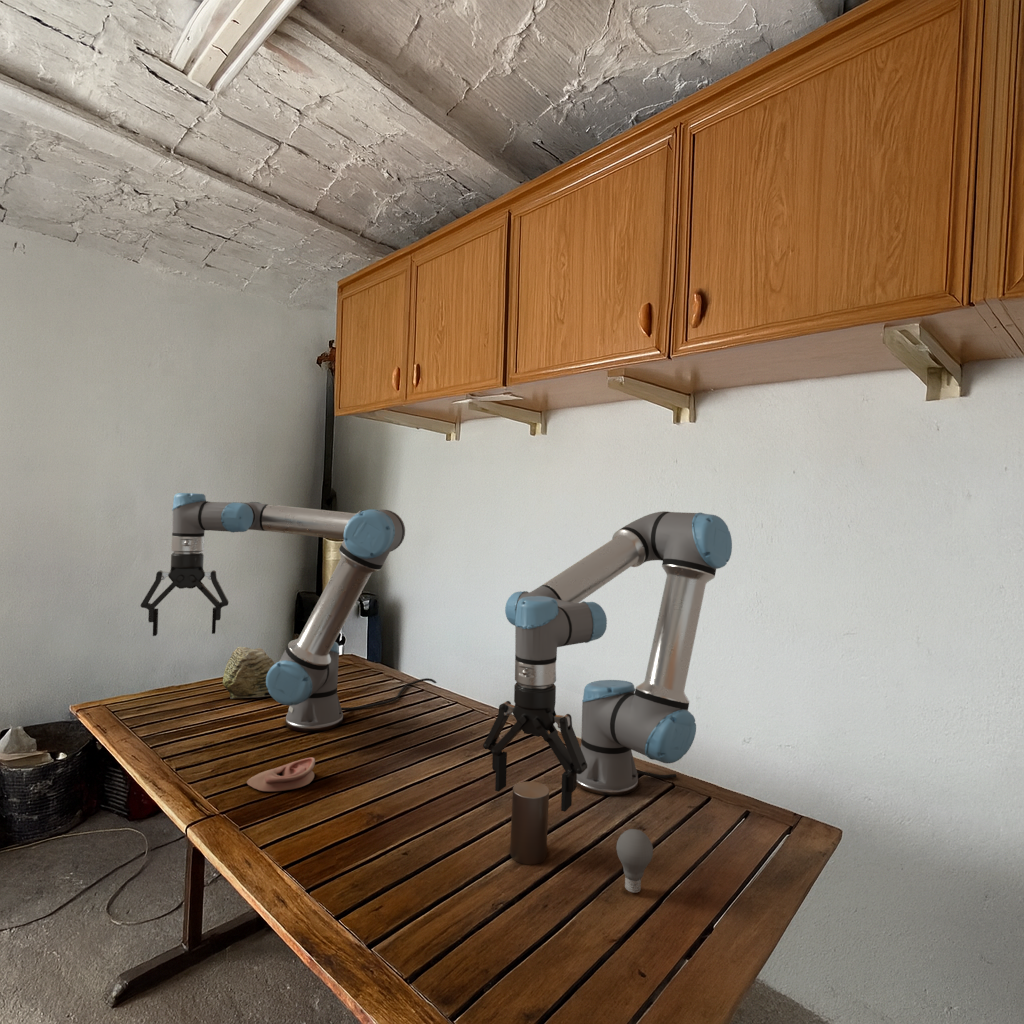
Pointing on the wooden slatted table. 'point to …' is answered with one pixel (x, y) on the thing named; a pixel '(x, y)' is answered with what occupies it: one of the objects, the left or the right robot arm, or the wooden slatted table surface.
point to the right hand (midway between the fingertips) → (532, 798)
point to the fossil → (247, 673)
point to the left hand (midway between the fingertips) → (184, 633)
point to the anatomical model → (284, 776)
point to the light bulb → (634, 857)
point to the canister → (529, 822)
